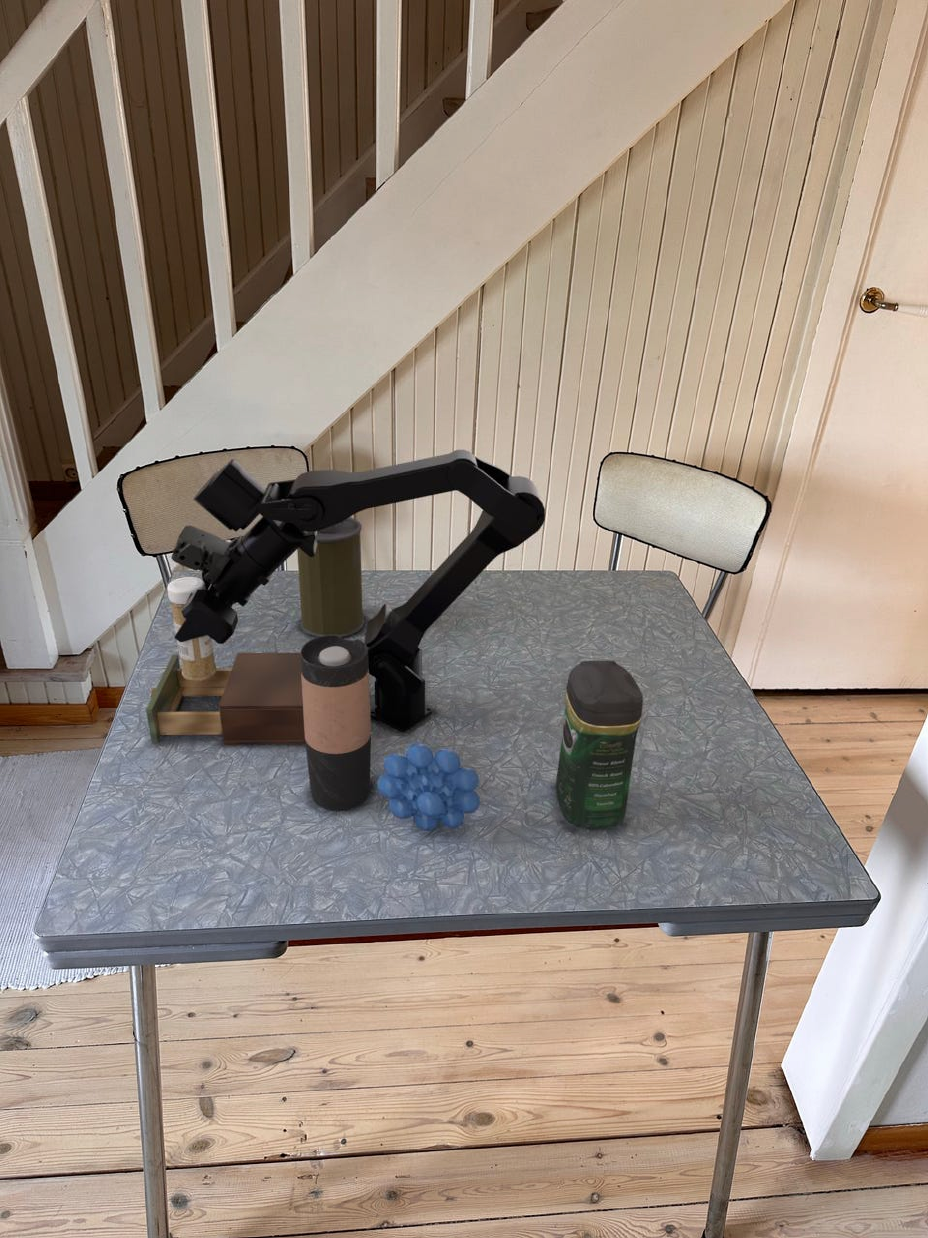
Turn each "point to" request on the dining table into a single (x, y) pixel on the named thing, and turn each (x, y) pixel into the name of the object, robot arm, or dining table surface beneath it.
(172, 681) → the drawer
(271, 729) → the drawer unit
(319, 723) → the travel mug
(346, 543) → the canister
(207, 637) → the sprinkles bottle
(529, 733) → the dining table surface
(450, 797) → the blue knobby toy
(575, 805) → the coffee jar
